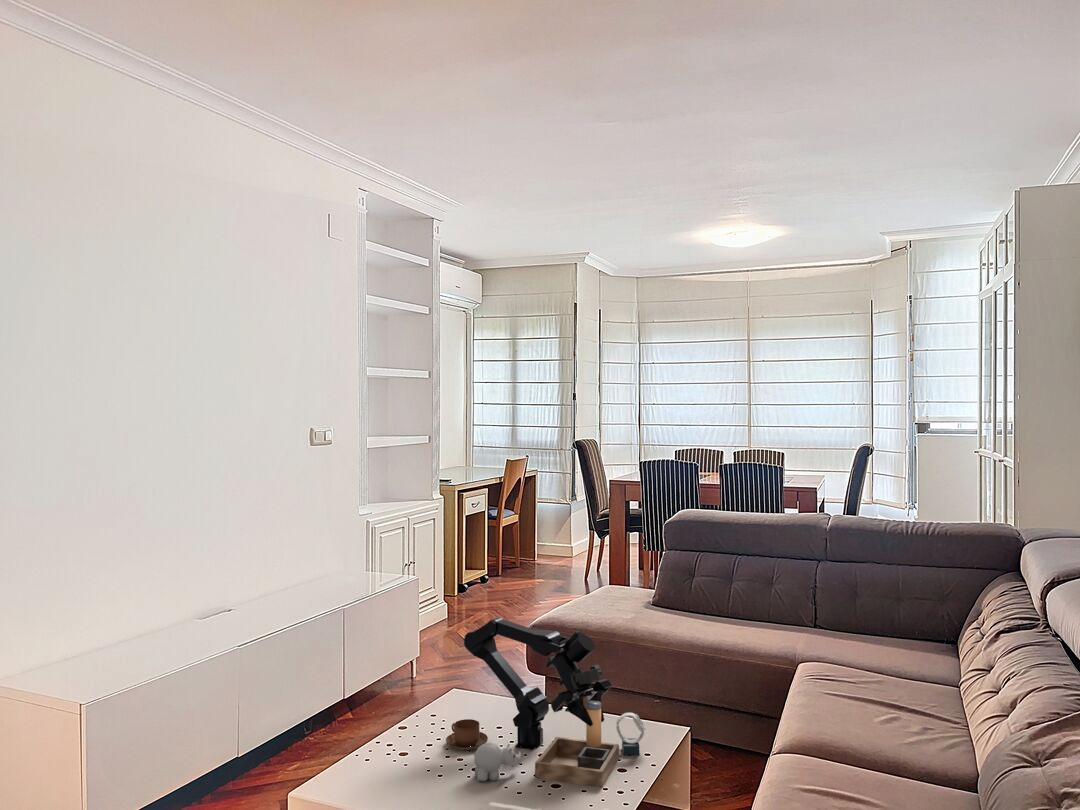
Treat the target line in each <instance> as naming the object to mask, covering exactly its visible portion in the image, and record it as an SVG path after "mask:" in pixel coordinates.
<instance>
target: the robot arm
mask: <svg viewBox="0 0 1080 810" xmlns="http://www.w3.org/2000/svg"><path fill="white" fill-rule="evenodd" d="M498 635H499V636H501V637H504V638H507V639H510V640H512V641H516V642H519V643H522V644H524V645H527V646H528V647H530V648H531V650H532V651H533V652H536V653H537V654H539V655H541V656H543V657H547V662H546V668H553V667H554V669H555V671H556V673H557V675H558V677H559V679H560V682H559V685H560V686H561V687H563V686H564V688H565V689H566V690H565V691H561V692H559V693H558V694H557V695H556V696H555V697H554V698H553V699H552V700H551V701H550V702H551V703H549V700H547V698H548V696H546V695H544V693H543V692H542V691H541V689H540V688H539V687H538V686H536V687H534V688H531V687H529V686H528V685H527V683H525V682H524V680H523V679H522V678H521V677H520V675H519V674H518V673H517V672H516V671H515V670H514V668H513V667H512V666H511V665H510V663H509V662H508V661H507V659H505V658H504V656H503V655H502V654H501V652H499V650H498V648H497V643H496V640H495V637H497V636H498ZM463 641H464V643H463V646H464V647H465V649H466V650H467V651H468V652H469V653H470V654H471V655H472V656H474V657H476V658H478V659H480V660H482V661H484V662H485V664H486V665H487V666H488V667H489V669H490V670H491V671H492V673H493V674H494V675H495V676H496V677H497V679H499V681H500V682H501V683H502V685H503V686H504V687H505V688H506V689H507V690H508V692H509V693H510V694H511V696H512V698H514V700H515V707H516V709H517V712H518V713H517V714H516V715H515V716H514V717H513V718H512V721H513V722H512V723H513V726H514V727H516V728H517V731H516V732H517V743H516V744H515V748H519V749H524V750H525V749H526V750H534V749H538V747H540V746H541V745H542V744H543V743H544V728H543V727H542V721H543V720H544V719H545V716H546V715H548V713H549V710H550V708H551V710H552V711H553V713H558V712H561V711H563V709H564V705H566V708H565V709H564V711H565V713H567V712H568V713H570V714H571V715H573V716H575V717H576V718H578V719H579V720H581V721H582V722H583V723H585V724H588V725H589V726H592V725H593V723H592V720H591V718H590V716H589V714H588V712H587V711H586V706H585V705H584V698H586V699H587V702H588V701H599V702H601V703H602V697H604V695H606V694H607V692H608V691H609V690H610V689H611V688H612V687H613V685H612V684H611V681H610V680H609V679H608V678H603V679H601V677H602V676H603V674H604V673H603V671H602V668H601V666H600V665H599V664H598V663H597V664H595V665H591V666H590V670H587V671H585V670H584V668H582V667H581V668H579V667H578V663H581V662H583V660H585V659H586V658H587V657H588V656H589V655H590V654H591V653H593V651H594V650H595V648H596V646H595V643H594V641H593V639H592V638H591V637H589V636H588V635H587V634H585V633H582V632H581V630H578V631H575V632H574V633H572V636H571V637H570V638H569V637H566V636H563V635H561V633H560V632H558V631H556V630H550V629H535V628H534V629H533V628H530V627H527V626H525V625H521V624H519V623H516V622H512V621H509V620H507V619H504V618H502V617H500V616H498V617H495V618H493V619H490V620H488V622H486V623H485V624H484V625H483V626H481V627H479V628H477V629H474V630H472V631H469V632H467V633H465V635H464V639H463ZM562 650H563V651H562ZM552 654H554V655H553V656H550V655H552ZM548 656H549V657H548ZM594 682H595V683H594ZM593 683H594V684H593ZM604 721H605V717H604V711H603V706H602V704H601V723H603V722H604Z"/></svg>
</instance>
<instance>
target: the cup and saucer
mask: <svg viewBox="0 0 1080 810" xmlns="http://www.w3.org/2000/svg"><path fill="white" fill-rule="evenodd" d="M451 724H452V725H451V731H452V732H453V733H451V734H449V735H448V736H447V737H446V738H445V742H446V745H448V746H449V747H450V748H452V749H454V750H458V751H471V750H477V749H478V748H479V747H480V746H481V745H482V744H485V743H488V738H489V737H488V735H487V734H486V733H484V732H482V731H480V721H478V720H477V719H476V720H475V719H469V718H468V719H467V718H464V719H460V720H457V721H455V722H453V723H451ZM470 746H471V747H470Z"/></svg>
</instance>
